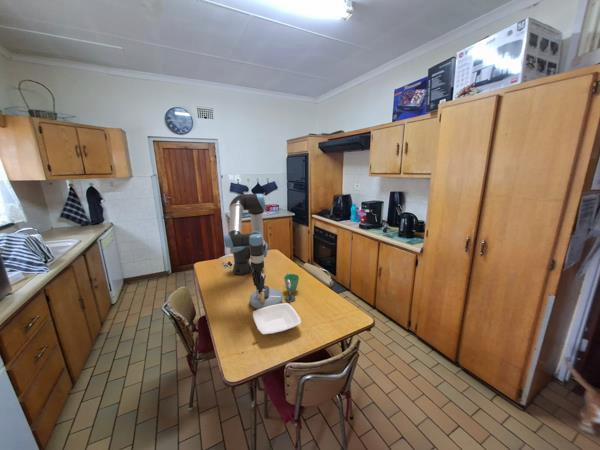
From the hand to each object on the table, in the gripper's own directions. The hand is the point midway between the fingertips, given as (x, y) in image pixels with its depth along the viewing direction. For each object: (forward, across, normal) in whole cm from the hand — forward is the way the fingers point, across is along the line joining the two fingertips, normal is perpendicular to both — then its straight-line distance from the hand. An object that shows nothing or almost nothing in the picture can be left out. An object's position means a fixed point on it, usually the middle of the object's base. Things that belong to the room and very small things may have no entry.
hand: (259, 297), depth 144 cm
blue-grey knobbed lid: (+5, -2, +6) cm, 8 cm away
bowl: (+7, +21, -3) cm, 22 cm away
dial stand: (+7, +6, +19) cm, 21 cm away
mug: (+7, -5, +28) cm, 29 cm away
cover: (+2, -4, +4) cm, 6 cm away
